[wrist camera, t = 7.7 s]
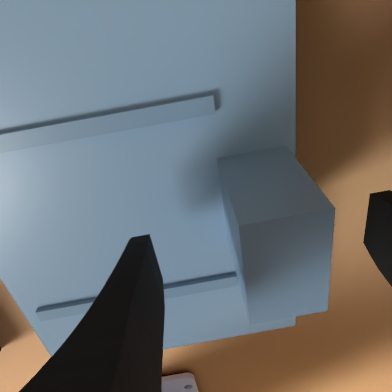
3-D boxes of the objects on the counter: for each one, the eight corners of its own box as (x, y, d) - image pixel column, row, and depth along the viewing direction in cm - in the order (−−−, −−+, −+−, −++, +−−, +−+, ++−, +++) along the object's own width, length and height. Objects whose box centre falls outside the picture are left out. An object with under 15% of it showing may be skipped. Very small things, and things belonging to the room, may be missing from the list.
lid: (288, 308, 18) (328, 407, 14) (64, 348, 18) (34, 459, 14) (282, -70, 10) (381, -116, 5) (-143, 9, 10) (-383, 26, 5)
